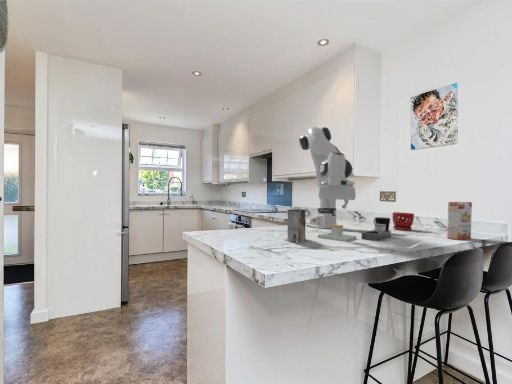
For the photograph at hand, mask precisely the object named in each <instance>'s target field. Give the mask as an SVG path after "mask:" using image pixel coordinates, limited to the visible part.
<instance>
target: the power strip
mask: <svg viewBox="0 0 512 384" xmlns="http://www.w3.org/2000/svg"><path fill="white" fill-rule="evenodd" d="M391 237H392V231H391V230H389V231H388V230H386V231H385V232H379V231H375V229H371V230H366V231H362V232H361V240H367V241H375V242H378V241H379V242H380V241H382V240H384V239H388V238H391Z"/></svg>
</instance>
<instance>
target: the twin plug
mask: <svg viewBox="0 0 512 384" xmlns="http://www.w3.org/2000/svg"><path fill="white" fill-rule="evenodd" d="M374 230H375V231H379V232H385V231H386V224H376V223H375V224H374Z"/></svg>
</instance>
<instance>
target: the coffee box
mask: <svg viewBox="0 0 512 384" xmlns="http://www.w3.org/2000/svg"><path fill="white" fill-rule="evenodd" d="M306 214H307V213H306V209H303V208H302V209H301V208H297V209H296V208H293V209H287V241H288V242H291V241H297V242H296V243H301V242H303V241H304V240H306V227H307V224H306V222H307V221H306V216H307V215H306ZM300 241H301V242H300Z"/></svg>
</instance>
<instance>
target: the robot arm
mask: <svg viewBox="0 0 512 384" xmlns="http://www.w3.org/2000/svg"><path fill="white" fill-rule="evenodd" d="M331 140H332V132H331V130H330V129H329V128H328V127H327V126H325V127H324V126H323V127H321V128H320V127H317V126H313V127H311V128H309V129H308V130H307V133H305V134H303V135H301V136H300V137H299V138H298V144H299V145H298V146H299V147H300V148H301V149H302V150H303V151H307V150H308V151H310V156H311V159H312V161H313V165H314V169H315V175H316V178H315V185H316V186H317V187H318V188H319V191H318V198H319V207H318V208H316V211H317V212H316V214H314V215H313V216H311V217H310V220H309V223H308V224H306V226H307V225H308V226H307V227H309V226H311V227H310V228H316V229H331V225H336V224H337V225H338V223H337V208H336V206H337V200H341V201H342V200H343V201H344V204H342V206H341V209H345V210H346V209H347V205H348V203H349V201H354V200H355V199H356V195H357V194H356V188H355V182H354V181H352V180H349V179H347V178H348V177H350V176H351V175H352V173H353V166H352V164H351V162H350V161H349V160H348V159H347V158H346V156H345V154H344V153H342V152H341V151H340V149H339V148H338V147H337V146H336V145H334V144H333V143H332V142H330V141H331Z"/></svg>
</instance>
